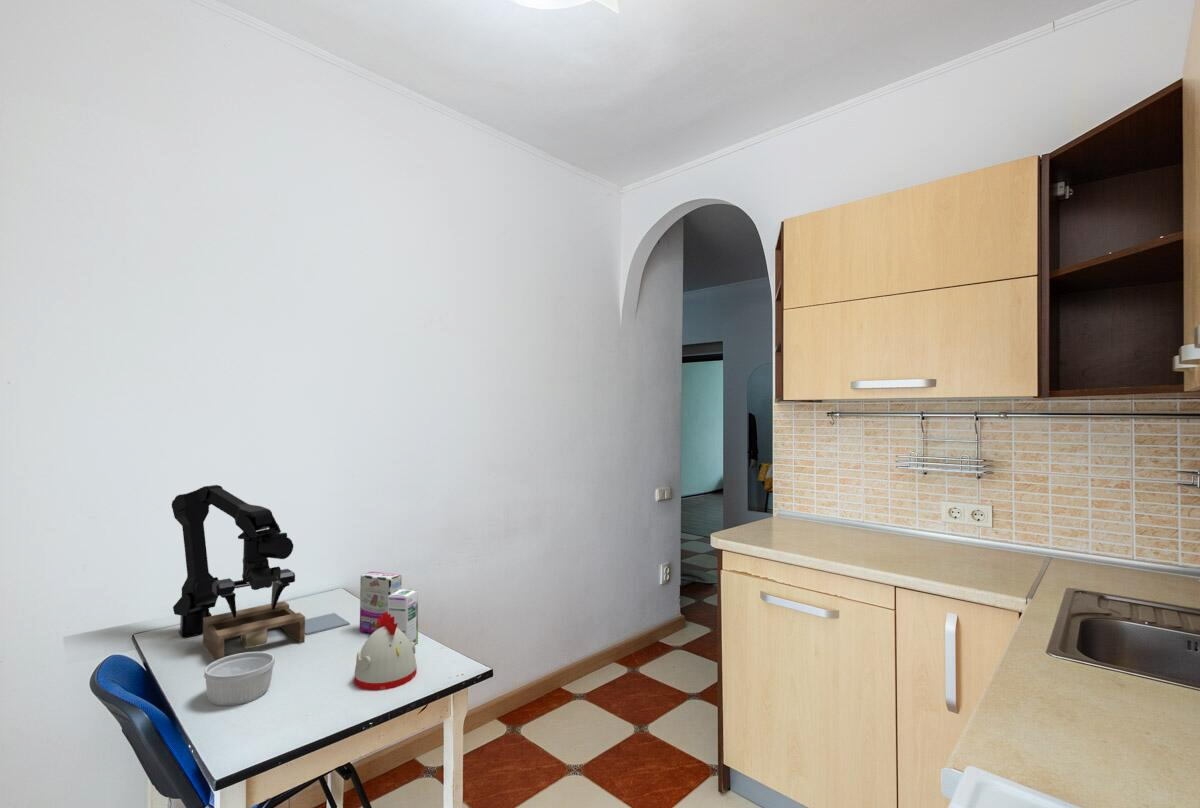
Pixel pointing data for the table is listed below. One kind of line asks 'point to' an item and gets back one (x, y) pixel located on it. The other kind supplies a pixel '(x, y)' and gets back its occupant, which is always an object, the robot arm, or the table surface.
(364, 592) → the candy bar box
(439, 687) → the table surface
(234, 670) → the ramekin
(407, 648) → the kitchen timer
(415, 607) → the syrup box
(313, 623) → the pad
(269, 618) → the wooden rack
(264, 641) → the maple block
